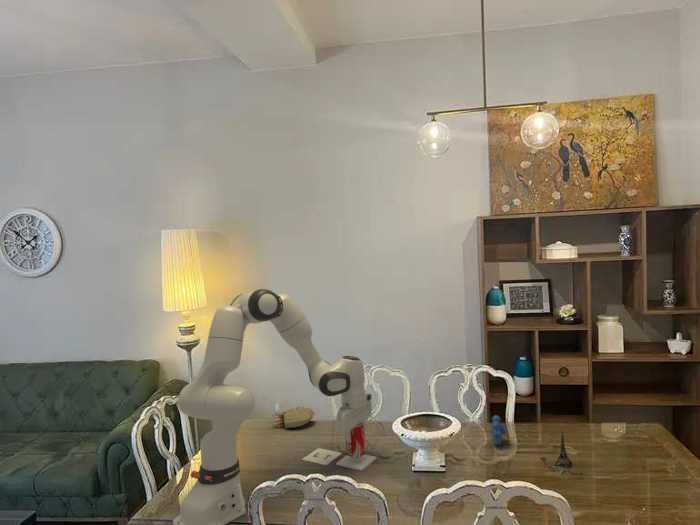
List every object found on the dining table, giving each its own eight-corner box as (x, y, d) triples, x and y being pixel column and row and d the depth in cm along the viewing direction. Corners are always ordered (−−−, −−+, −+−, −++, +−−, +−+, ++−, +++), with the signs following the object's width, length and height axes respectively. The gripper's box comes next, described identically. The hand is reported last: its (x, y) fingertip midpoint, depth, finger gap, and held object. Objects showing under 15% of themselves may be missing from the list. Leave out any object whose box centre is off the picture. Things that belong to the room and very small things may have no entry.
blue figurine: (509, 452, 189) (508, 420, 188) (490, 451, 191) (489, 419, 190) (508, 439, 200) (507, 410, 199) (490, 438, 202) (489, 409, 201)
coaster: (362, 470, 179) (362, 469, 179) (336, 464, 185) (336, 463, 185) (376, 458, 189) (376, 457, 189) (351, 453, 194) (351, 451, 194)
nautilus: (266, 435, 219) (269, 424, 233) (315, 428, 220) (315, 418, 235) (263, 416, 219) (267, 407, 234) (313, 410, 220) (314, 401, 235)
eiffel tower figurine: (538, 458, 184) (537, 422, 183) (565, 456, 184) (564, 420, 184) (557, 477, 169) (556, 438, 168) (587, 475, 169) (586, 436, 169)
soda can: (363, 460, 183) (362, 427, 182) (344, 459, 184) (343, 426, 183) (366, 451, 190) (365, 420, 189) (348, 450, 191) (347, 419, 190)
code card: (326, 465, 185) (326, 464, 185) (301, 459, 191) (301, 459, 190) (342, 453, 194) (342, 453, 194) (318, 448, 200) (318, 448, 200)
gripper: (346, 409, 175) (347, 449, 176) (373, 393, 193) (375, 428, 193) (330, 407, 179) (332, 445, 179) (359, 391, 196) (361, 426, 197)
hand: (355, 436), depth 186 cm, fingers closed on soda can, 7 cm apart
